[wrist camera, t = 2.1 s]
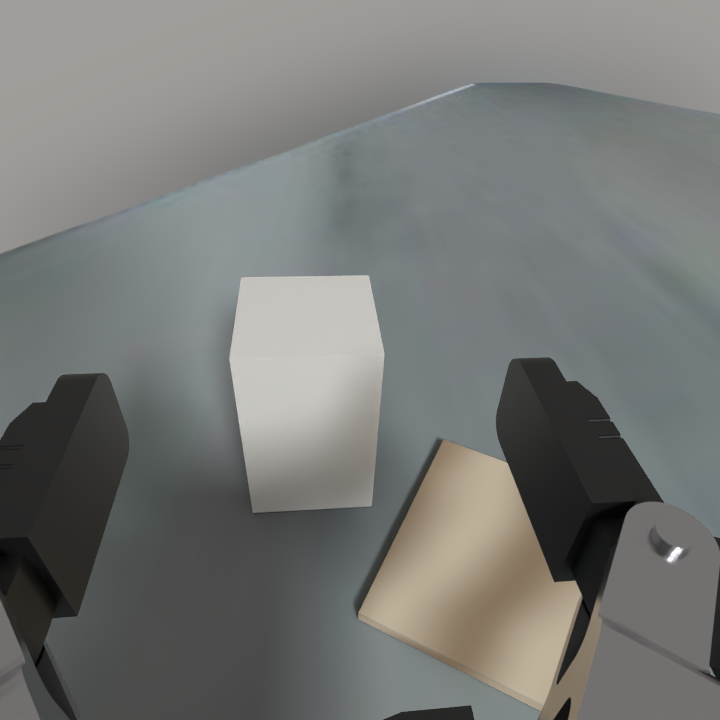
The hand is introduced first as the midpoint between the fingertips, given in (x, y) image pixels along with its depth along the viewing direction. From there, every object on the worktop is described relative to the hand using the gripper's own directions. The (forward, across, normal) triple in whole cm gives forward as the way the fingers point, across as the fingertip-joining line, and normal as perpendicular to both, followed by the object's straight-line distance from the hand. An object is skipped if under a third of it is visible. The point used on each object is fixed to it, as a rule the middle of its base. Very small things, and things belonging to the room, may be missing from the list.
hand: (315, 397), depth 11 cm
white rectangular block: (+12, 0, +16) cm, 19 cm away
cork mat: (+5, -9, +16) cm, 19 cm away
